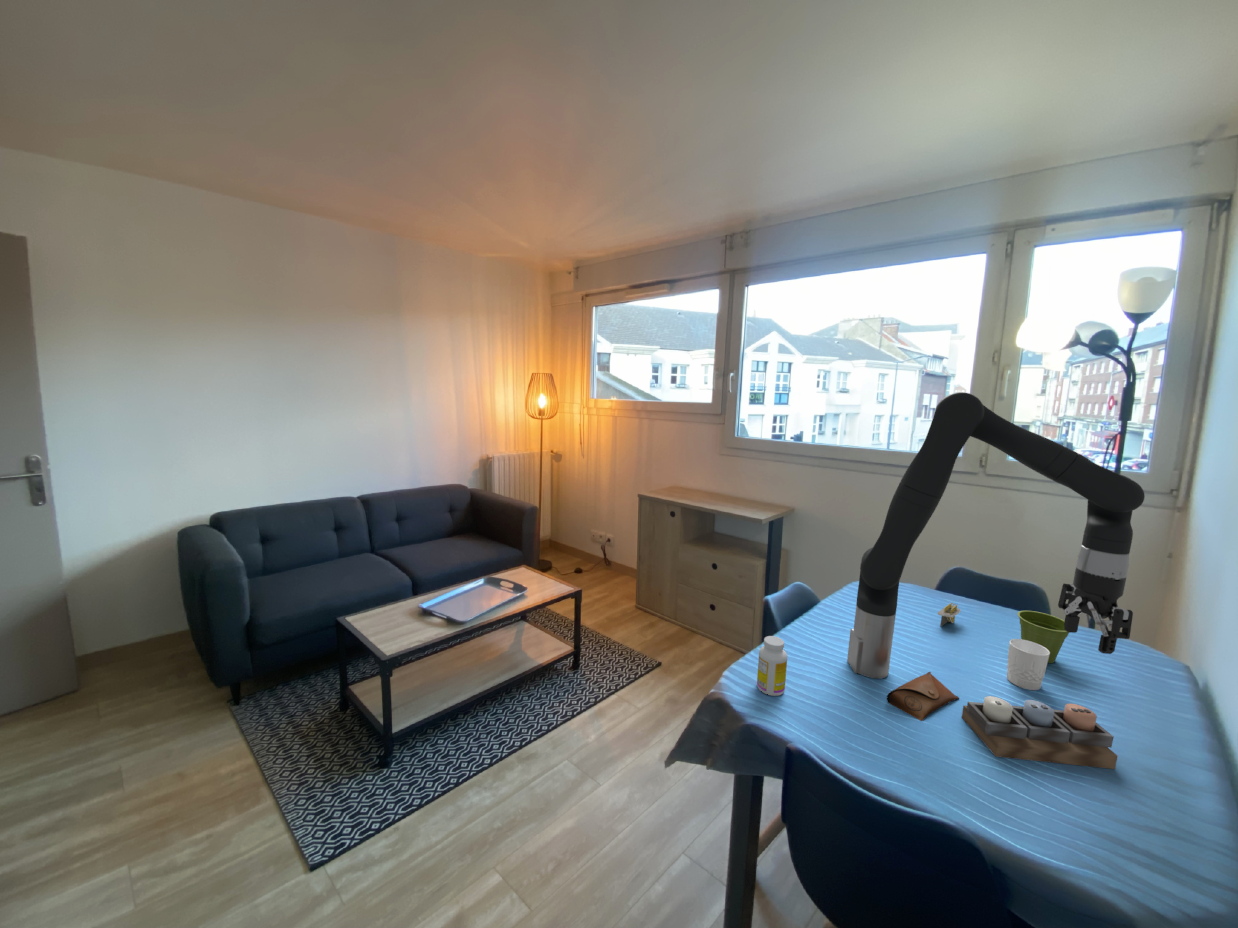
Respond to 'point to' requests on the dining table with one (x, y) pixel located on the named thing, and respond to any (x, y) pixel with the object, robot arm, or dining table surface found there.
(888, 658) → the robot arm
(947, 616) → the platform
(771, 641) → the supplement bottle
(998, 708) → the button one
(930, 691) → the sunglasses case
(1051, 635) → the plant pot
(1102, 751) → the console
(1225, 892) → the dining table surface
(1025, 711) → the button two
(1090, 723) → the button three
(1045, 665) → the white cup
